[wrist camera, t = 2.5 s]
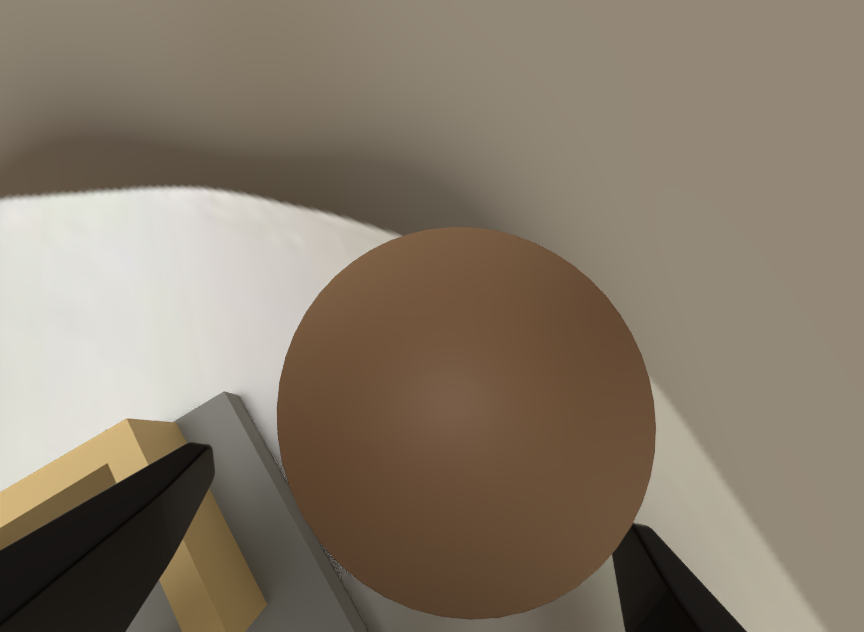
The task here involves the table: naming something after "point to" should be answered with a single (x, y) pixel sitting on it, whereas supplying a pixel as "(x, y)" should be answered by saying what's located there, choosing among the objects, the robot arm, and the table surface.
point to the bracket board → (204, 528)
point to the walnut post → (466, 423)
